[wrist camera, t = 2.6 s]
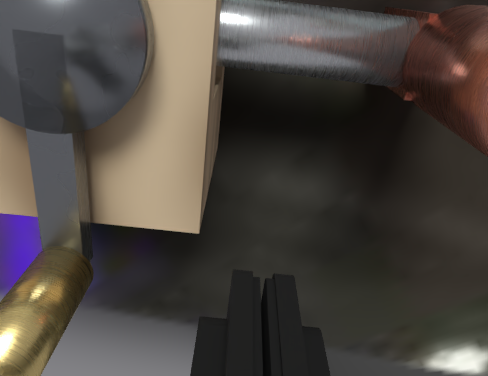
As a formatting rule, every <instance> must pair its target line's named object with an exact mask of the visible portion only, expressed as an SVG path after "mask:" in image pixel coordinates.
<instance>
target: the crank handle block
mask: <svg viewBox="0 0 488 376" xmlns="http://www.w3.org/2000/svg"><path fill="white" fill-rule="evenodd" d="M153 48H154V28H153V21H152V15H151V11H150V8H149V4H148V1H147V0H0V117H2V118H4V119H6V120H7V121H9V122H11V123H14V124H16V125H18V126H21V127H23V128H26V135H27V142H28V149H29V157H30V164H31V171H32V178H33V185H34V192H35V200H36V207H37V214H38V221H39V228H40V235H41V243H42V250H43V251H41V252H40V253H39V254H38V256H37V257H36V258H35V259H34V261H33V262H32V263H31V264H30V266H29V267H28V268H27V269H26V271H25V272H24V273H23V274H22V276H21V277H20V278H19V279H18V281H17V282H16V283H15V284H14V286H13V287H12V288H11V289H10V291H9V292H8V293H7V294H6V296H5V297H4V298H3V299H2V301H1V302H0V376H41V374H42V372H43V370H44V368H45V366H46V365H47V363H48V361H49V359H50V357H51V355H52V353H53V352H54V350H55V348H56V346H57V344H58V342H59V341H60V339H61V337H62V335H63V333H64V332H65V330H66V328H67V326H68V324H69V322H70V321H71V319H72V317H73V315H74V313H75V311H76V310H77V308H78V306H79V304H80V302H81V300H82V299H83V297H84V295H85V293H86V291H87V289H88V288H89V286H90V284H91V282H92V280H93V268H92V266H91V264H90V261H91V259H92V257H93V251H92V237H91V223H90V209H89V194H88V180H87V166H86V152H85V138H84V131H86V130H89V129H92V128H94V127H97V126H99V125H101V124H102V123H104V122H106V121H108V120H109V119H110V118H112V117H113V116H114V115H116V114H117V113H118V112H119V111H120V110H121V109H122V108H123V107H124V106H125V105H126V104H127V103H128V102H129V101H130V100H131V99H132V98H133V97H134V96H135V95H136V94H137V92H138V91H139V89H140V88H141V87H142V85H143V83H144V81H145V79H146V77H147V74H148V71H149V69H150V66H151V61H152V56H153Z"/></svg>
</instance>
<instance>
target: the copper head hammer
mask: <svg viewBox="0 0 488 376" xmlns="http://www.w3.org/2000/svg"><path fill="white" fill-rule="evenodd" d="M216 66H223V67H231V68H240V69H248V70H256V71H265V72H273V73H281V74H290V75H298V76H306V77H315V78H323V79H332V80H340V81H348V82H357V83H365V84H373V85H382V86H386V87H387V88H389V89H390V90H391V91H393V92H394V93H396V94H397V95H398V96H400V97H401V98H402V99H404V100H410V101H412V102H413V103H414V104H415V105H416V106H418V107H419V108H420V109H422V110H423V111H424V112H426V113H427V114H429V115H430V116H431V117H433V118H434V119H436V120H437V121H438V122H440V123H441V124H443V125H444V126H445V127H447V128H448V129H450V130H451V131H452V132H454V133H455V134H457V135H458V136H459V137H461V138H462V139H464V140H465V141H466V142H468V143H469V144H471V145H472V146H473V147H475V148H476V149H478V150H479V151H480V152H482V153H483V154H485V155H486V156H487V157H488V6H481V5H462V6H458V7H454V8H451V9H448V10H446V11H444V12H442V13H440V14H436V13H428V12H420V11H413V10H405V9H397V8H389V7H386V8H385V12H384V14H381V13H373V12H365V11H357V10H349V9H342V8H334V7H326V6H318V5H310V4H302V3H294V2H286V1H278V0H221V13H220V25H219V38H218V50H217V63H216Z"/></svg>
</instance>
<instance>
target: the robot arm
mask: <svg viewBox="0 0 488 376" xmlns="http://www.w3.org/2000/svg"><path fill="white" fill-rule="evenodd" d="M190 376H330V371H329V367H328V362H327V357H326V352H325V347H324V342H323V337H322V333H321V330H320V329H319V328H314V327H304V326H302V324H301V317H300V311H299V304H298V297H297V291H296V284H295V278H294V276H293V275H283V274H273V277H272V279H269V278H266V279H265V283H264V289H263V294H262V300H261V293H260V278H259V277H253V272H252V271H243V270H233V272H232V280H231V288H230V296H229V304H228V312H227V319H221V318H210V317H200V318H199V323H198V330H197V337H196V342H195V349H194V355H193V362H192V368H191V374H190Z"/></svg>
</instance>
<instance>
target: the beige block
mask: <svg viewBox="0 0 488 376" xmlns="http://www.w3.org/2000/svg"><path fill="white" fill-rule="evenodd" d="M147 1H148V4H149V8H150V11H151V15H152V21H153V28H154V48H153V56H152V61H151V66H150V69H149V71H148V74H147V77H146V79H145V81H144V83H143V85H142V87H141V88H140V89H139V91H138V92H137V94H136V95H135V96H134V97H133V98H132V99H131V100H130V101H129V102H128V103H127V104H126V105H125V106H124V107H123V108H122V109H121V110H120V111H119V112H118V113H117V114H116V115H114V116H113V117H112V118H110V119H109V120H108V121H106V122H104V123H102V124H101V125H99V126H97V127H94V128H92V129H89V130H86V131H84V138H85V152H86V166H87V180H88V194H89V209H90V222H92V223H101V224H111V225H120V226H130V227H139V228H149V229H158V230H168V231H177V232H187V233H197V234H199V231H200V227H201V222H202V217H203V213H204V208H205V203H206V199H207V194H208V190H209V185H210V180H211V176H212V171H213V166H214V162H215V157H216V152H217V148H218V136H219V125H220V114H221V102H222V91H223V80H224V69H225V67H223V66H216V63H217V50H218V38H219V25H220V13H221V0H147ZM0 213H6V214H15V215H25V216H34V217H38V214H37V207H36V200H35V192H34V185H33V178H32V171H31V164H30V157H29V149H28V142H27V135H26V128H23V127H21V126H18V125H16V124H14V123H11V122H9V121H7V120H6V119H4V118H2V117H0Z"/></svg>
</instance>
